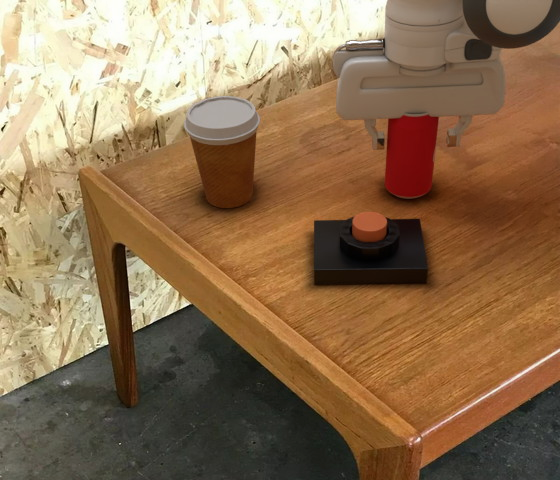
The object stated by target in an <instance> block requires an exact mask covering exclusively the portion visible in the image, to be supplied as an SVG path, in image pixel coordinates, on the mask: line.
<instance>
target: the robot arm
mask: <svg viewBox="0 0 560 480" xmlns="http://www.w3.org/2000/svg"><path fill="white" fill-rule="evenodd" d="M384 8H385V11H384V37H383V38H369V39H364V40H363V39H362V40H357V39H350V40H349V39H348V40H346V41H345V43H344V44H341V45H339V46H337V48H336V49H334V52H333V54H332V71H333V74H334V76H335V77H336V78H337V81H336V90H335V91H336V92H335V110H336V111H335V112H336V114H337V116H338V117H339V118H340V119H341V120H342V121H363V123H364V128H365V130H366V132H368V134H369V136H370V137H371V145H372V147H371V148H372V151H380V150H381V151H382V150H385V144H386V143H385V142H386V137H385V130H384V131H383V130H382V131H378V129H377V127H376V126H377V120H388V119H393V118H401V117H402V116H403V114H404V113H407V114H423V113H427V112H428V113H429V115H430V116H431V117H439V118H441V117H458V119H459V120H458V121H457V123H456V124H455V126H454V127H453V128H447V129H446V130H447V131H446V134H447V136H446V141H445V142H446V147H447V148H459V147H460V146H461V137H462V136H463V134H464V133H465V132H466V130H467V129H468V128H469V126H470V125H471V124H472V122H473V116H486V115H487V116H489V115H491V116H492V115H496V114H498V113H499V112H500V111H501V110H502V108H503V107H504V105H505V97H506V70H505V67H504V64H503V63H504V62H503V61H502V59H501V54H502V50H503V49H506V50H510V49H512V50H513V49H519V48H520V49H521V48H524V47H528V46H531V45H532V44H535V43H537V42H539V41H541V40H542V39H544V38H545V37H547V36H548V35H549V34H550V33H551V32H553V31H554V29H555V28H556V27H557V26H558V25H559V23H560V0H386V4H385V7H384Z"/></svg>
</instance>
